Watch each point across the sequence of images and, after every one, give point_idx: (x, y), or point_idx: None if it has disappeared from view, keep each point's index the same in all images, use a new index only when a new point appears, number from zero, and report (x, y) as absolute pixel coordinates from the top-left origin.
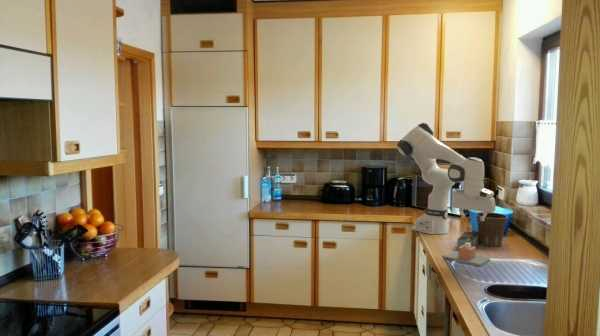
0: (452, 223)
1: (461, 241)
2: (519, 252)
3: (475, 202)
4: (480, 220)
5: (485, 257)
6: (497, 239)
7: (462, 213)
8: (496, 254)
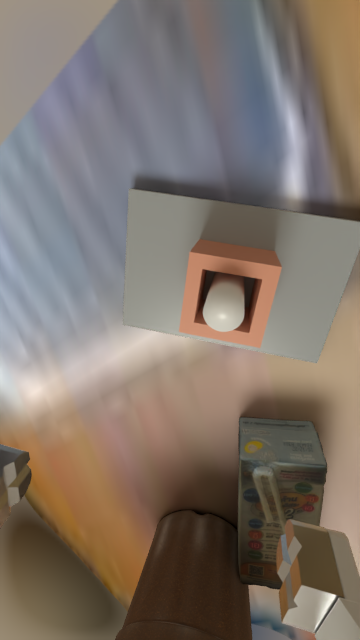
0: None
1: (299, 455)
2: (78, 474)
3: None
4: (20, 450)
5: (146, 328)
6: (158, 543)
7: (344, 632)
8: (136, 421)
